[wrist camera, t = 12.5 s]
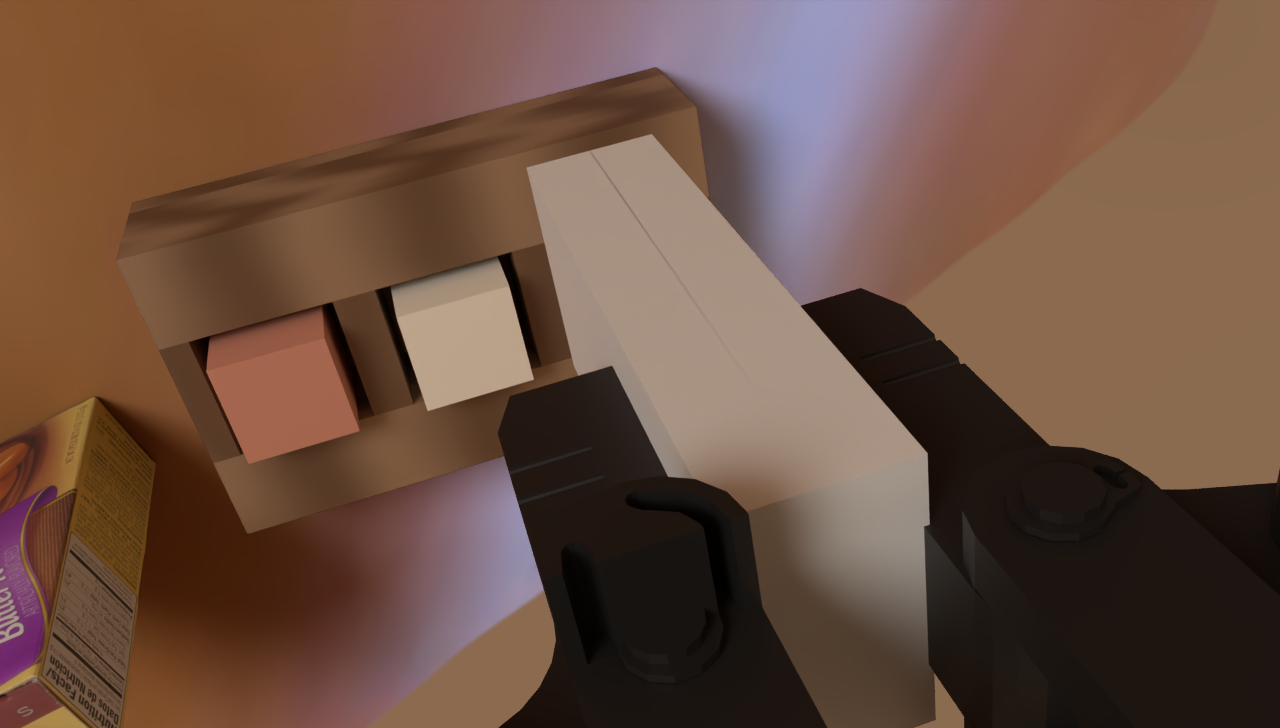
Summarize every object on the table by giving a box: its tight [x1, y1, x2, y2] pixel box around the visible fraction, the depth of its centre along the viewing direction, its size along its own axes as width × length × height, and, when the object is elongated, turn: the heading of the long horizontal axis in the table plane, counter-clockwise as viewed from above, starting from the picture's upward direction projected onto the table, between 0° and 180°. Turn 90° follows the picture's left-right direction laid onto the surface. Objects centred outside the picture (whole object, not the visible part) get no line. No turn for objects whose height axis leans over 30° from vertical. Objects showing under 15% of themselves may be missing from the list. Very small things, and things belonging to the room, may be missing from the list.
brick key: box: [206, 303, 360, 464], centre depth 40 cm, size 4×4×4 cm
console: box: [116, 67, 710, 534], centre depth 43 cm, size 20×12×5 cm, turn 100°
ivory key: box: [390, 256, 534, 411], centre depth 41 cm, size 4×4×4 cm
